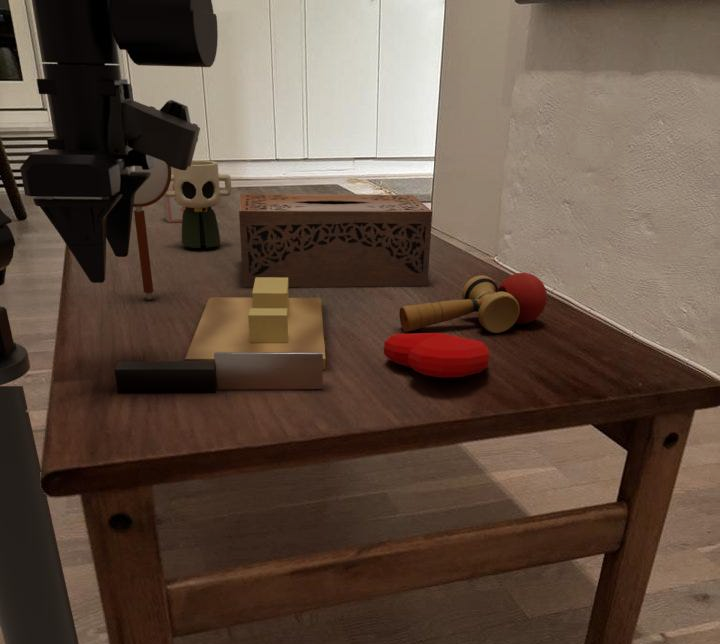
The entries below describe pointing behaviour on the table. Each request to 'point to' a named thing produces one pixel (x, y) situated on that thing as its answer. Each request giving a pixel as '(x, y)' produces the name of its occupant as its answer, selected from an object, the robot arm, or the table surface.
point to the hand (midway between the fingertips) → (110, 268)
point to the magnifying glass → (144, 197)
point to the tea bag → (172, 206)
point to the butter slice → (268, 325)
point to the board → (231, 329)
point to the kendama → (484, 304)
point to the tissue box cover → (335, 239)
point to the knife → (222, 373)
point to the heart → (438, 354)
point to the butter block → (270, 292)
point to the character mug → (199, 201)
